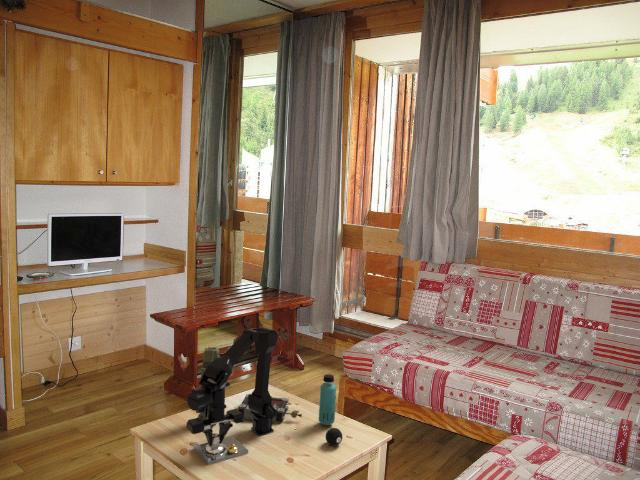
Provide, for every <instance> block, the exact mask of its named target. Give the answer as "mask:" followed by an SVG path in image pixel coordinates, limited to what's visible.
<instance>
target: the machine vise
mask: <svg viewBox="0 0 640 480" xmlns="http://www.w3.org/2000/svg"><path fill="white" fill-rule="evenodd" d="M249 394H250V393H247V394H245V395H244V398H243V400H242V402H241V403H240V404H239V406H238V408H237V410H239V411H240V412H241V413H242V414H243V416H244V420H245V421H253V419H254V415H255V414H252V413H251V412H250V409H249V407H248V405H247V403H248V395H249ZM271 400H272V406H273V407H274V408H275V409H276V410H277V412H276V416H275V417H273V419H272V424H273V423H274V424H275V423H283V422H284V421H285V416H286V415H290V416H291V417H292V418H293V419H295V418H297V417H300V418H302V415H303V413H301V414H299V412H300V410H295V409H293V410H292V412H288V410H289V407H290V406H289V405H287V404H289V402H290V401H289V400H290V398H289V397H273V396H271Z"/></svg>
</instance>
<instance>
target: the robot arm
mask: <svg viewBox="0 0 640 480" xmlns="http://www.w3.org/2000/svg"><path fill="white" fill-rule="evenodd" d="M278 337H279V335H278V332H277V331H276V330H275V329H273V328H268V327H265V326H259V327H257V328H253V327H252V328H246V329H244V330H243V332H242V334H241V335H240V336H239V338H238V337H237V339H236V340H235V342H234V343H233V344H232V345H231V346H230V347H229V349H227V350H226V352H225V353H224V354H223V355H222V356H220V358H217V359H215V360H214V361H212V362H211V363H210V364H209V365H208V366H207V367H206V370H205V372H204V374H203V376H202V378H201V377H200V378H201V380H200V379H199V382H198V385H199V386H198V387H195V388H192V390H191V392H190V393H189V394H188V395H187V398H186V402H187V403H186V404H187V405H188V408H189V409H190V410H192V411H193V412H194V411H195V413H196V414H200V413H201V415H202V414H204V417H205V418H206V417H207V420H203V421H201V420H200V419H199V418H198V417H196V418H191V419H187V422H186V429H187V430H188V431H189V432H190V433H191V434H193V435H197V434H200V433H203V434H204V436H205V439H206V442H207V443H208V444H209V446H210V447H211V445H212V434H214V433H213V431H214V430H213V428H212V429H211V425H212V424H216V425H217V424H218V427H219V429H218V434H220V444H221V443H222V441H223V439H224V438H226V435H227V433H228V432H229V431H230V429H231V428H232V427H234V424H241V423H244V420H245V419H244V416H243V414H242V413H241V412H240V411H239V410H238V408H233V409H229V410H226V412H225V409H227V404H226V401H225V400H226V387H229V386H231V383H230V382H228V379H229V378H230V376H231V375H232V373H233V370H234V369H233V368H234V366H235V365H236V363H237V362H238V361H239V360H240V359H241V357H243V356H244V354H245V353H246V351H248V350H249V348H251V346H252V345H253V344H254V345H255V348H256V350H257V358H256V370H255V382H254V388H253V391H252V393H248V394H249V395H248V403H247V405H248V407H249V409H250V412H251V413H252V414H255V415H254V419H253V420H252V424H251V425H252V426H251V430H252V432H254V433H255V434H257V435H258V436H263V435H267V434H270V433H274V432H275V429H273V422H272V419H273V417H275V416H276V412H277V410H276V409H275V408H274V407H273V406H272V400H271V397H272V396H271V394H270V392H269V383H270V372H271V371H270V370H271V359H272V352H273V351H274V349H275V348H276V346H277V343H278ZM208 379H209V380H211V381H214V383H211V382H208V381H207V380H208ZM200 385H201V387H200ZM232 420H233V422H234V424H233V423H232Z"/></svg>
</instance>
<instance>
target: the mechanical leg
mask: <svg viewBox="0 0 640 480" xmlns="http://www.w3.org/2000/svg"><path fill="white" fill-rule="evenodd" d="M220 357H221V353H220V349H218V348H216V347H214V346H213V347H211V346H210V347H205V348H204V353H203V359H202V366H201V372H200V379H199V381H200V380H201V378H202V376H203V374H204V372H205V370H206V367H207V366H208V365H209V364H210V363H211V362H212V361H214V360H215V359H217V358H220ZM207 381H208V382H211V383H215V382H214V381H211V380H209V379H208V380H207ZM199 387H201V385H199ZM197 418H199V419H200V420H201V421H203V420H207V417H206V418H205V417H204V414H202V415H201V413H198V415H197ZM215 425H217V423H216V424H212V425H211V429H212V430H213V428H214V426H215Z"/></svg>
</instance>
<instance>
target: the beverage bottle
mask: <svg viewBox="0 0 640 480" xmlns="http://www.w3.org/2000/svg"><path fill="white" fill-rule="evenodd" d="M322 380H323V383H322V384H321V385H320V386H319V387H320V392H319V408H318V422H319V423H320V424H322V425H329V426H330V425H333V424H334V422H335V418H336V401H337V396H336V395H337V386H336V385H335V383H333V382H335V376H334V375H333V374H332V373H331V374H329V373H327V374H324V375H323V379H322Z"/></svg>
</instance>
